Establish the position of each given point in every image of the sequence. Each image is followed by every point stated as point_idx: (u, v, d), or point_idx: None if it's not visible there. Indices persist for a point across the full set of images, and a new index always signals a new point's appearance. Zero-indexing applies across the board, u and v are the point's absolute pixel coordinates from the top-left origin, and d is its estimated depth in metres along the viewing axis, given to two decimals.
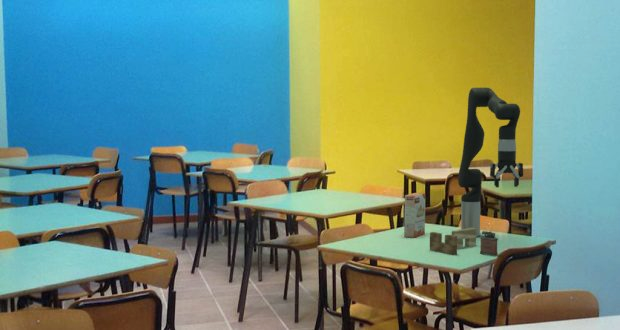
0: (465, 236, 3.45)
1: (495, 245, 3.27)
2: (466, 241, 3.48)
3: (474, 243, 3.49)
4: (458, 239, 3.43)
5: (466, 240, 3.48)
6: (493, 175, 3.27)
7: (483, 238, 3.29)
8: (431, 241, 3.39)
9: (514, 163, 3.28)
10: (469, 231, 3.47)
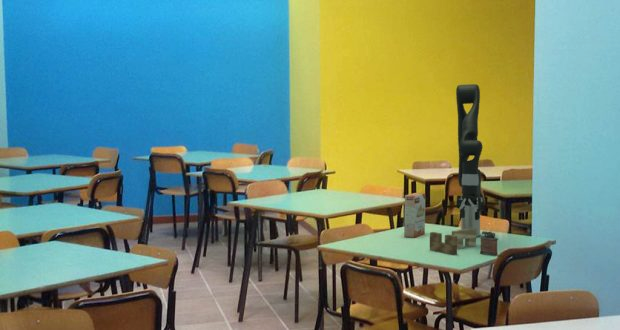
0: (465, 236, 3.45)
1: (495, 245, 3.27)
2: (466, 241, 3.48)
3: (474, 243, 3.49)
4: (458, 239, 3.43)
5: (466, 240, 3.48)
6: None
7: (483, 238, 3.29)
8: (431, 241, 3.39)
9: None
10: (469, 231, 3.47)
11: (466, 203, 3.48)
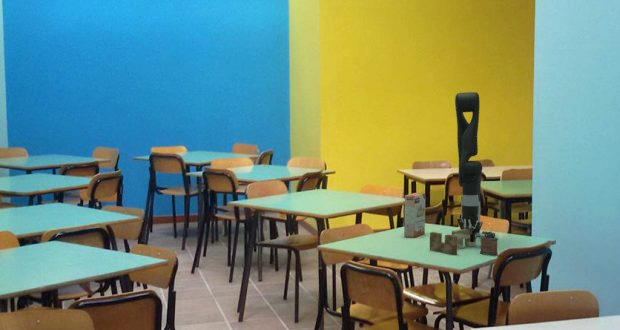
0: (465, 236, 3.45)
1: (495, 245, 3.27)
2: (466, 241, 3.48)
3: (474, 243, 3.49)
4: (458, 239, 3.43)
5: (466, 240, 3.48)
6: None
7: (483, 238, 3.29)
8: (431, 241, 3.39)
9: None
10: (469, 231, 3.47)
11: (468, 223, 3.48)
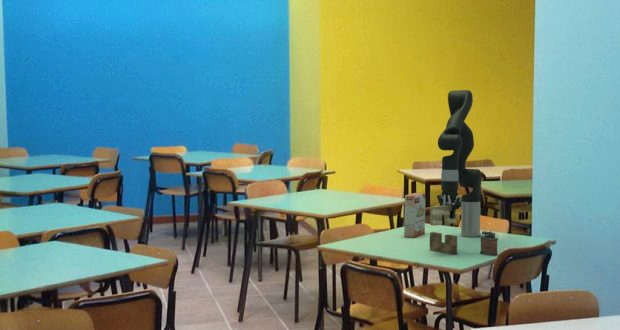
0: (444, 212, 3.33)
1: (495, 245, 3.27)
2: (445, 218, 3.36)
3: (453, 220, 3.37)
4: (437, 215, 3.30)
5: (445, 217, 3.36)
6: None
7: (483, 238, 3.29)
8: (431, 241, 3.39)
9: None
10: (448, 207, 3.34)
11: (447, 199, 3.36)
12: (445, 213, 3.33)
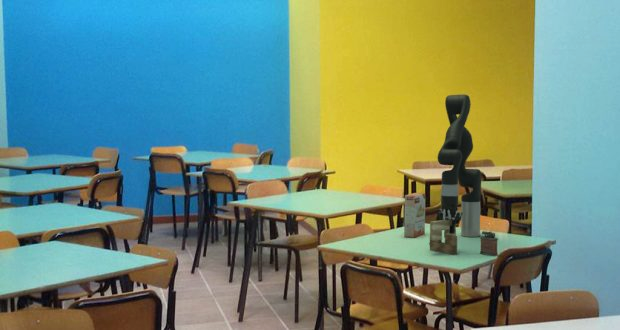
0: (444, 227, 3.33)
1: (495, 245, 3.27)
2: (445, 232, 3.36)
3: (453, 234, 3.37)
4: (437, 230, 3.31)
5: (445, 231, 3.36)
6: None
7: (483, 238, 3.29)
8: (431, 241, 3.39)
9: None
10: (448, 222, 3.35)
11: (447, 214, 3.36)
12: (445, 228, 3.34)
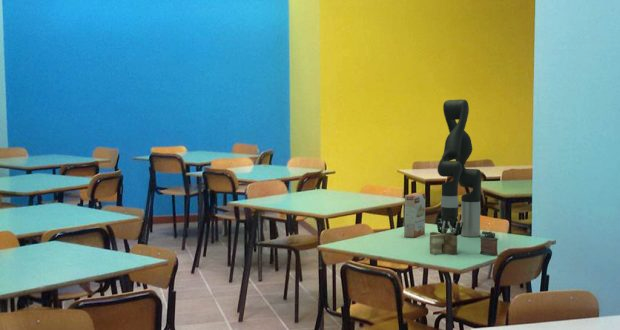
0: (444, 240, 3.34)
1: (495, 245, 3.27)
2: None
3: None
4: (436, 244, 3.31)
5: None
6: None
7: (483, 238, 3.29)
8: None
9: None
10: None
11: (446, 225, 3.37)
12: None
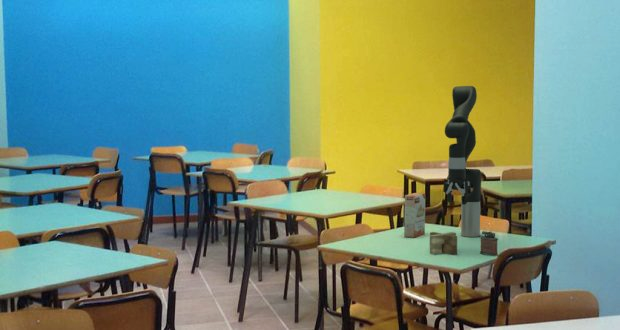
0: (444, 240, 3.34)
1: (495, 245, 3.27)
2: None
3: None
4: (436, 244, 3.31)
5: None
6: None
7: (483, 238, 3.29)
8: None
9: None
10: None
11: (453, 187, 3.39)
12: None
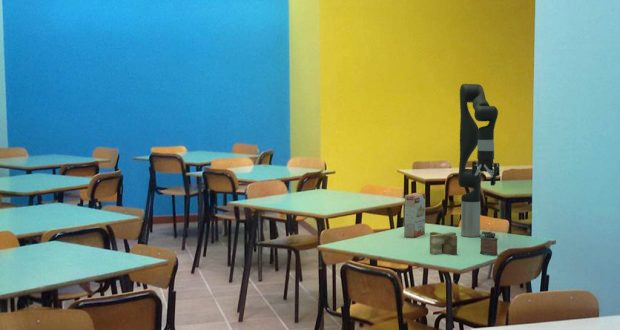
0: (444, 240, 3.34)
1: (495, 245, 3.27)
2: None
3: None
4: (436, 244, 3.31)
5: None
6: None
7: (483, 238, 3.29)
8: None
9: None
10: None
11: (482, 169, 3.49)
12: None
